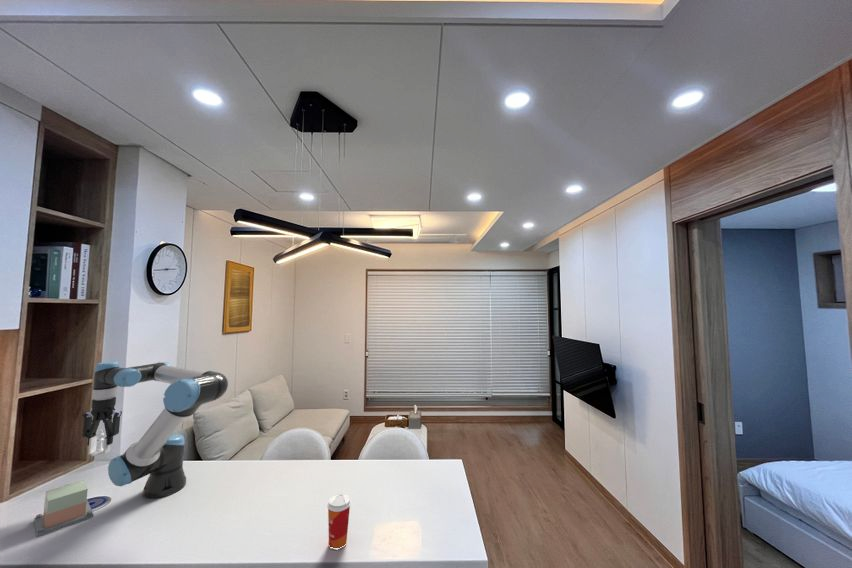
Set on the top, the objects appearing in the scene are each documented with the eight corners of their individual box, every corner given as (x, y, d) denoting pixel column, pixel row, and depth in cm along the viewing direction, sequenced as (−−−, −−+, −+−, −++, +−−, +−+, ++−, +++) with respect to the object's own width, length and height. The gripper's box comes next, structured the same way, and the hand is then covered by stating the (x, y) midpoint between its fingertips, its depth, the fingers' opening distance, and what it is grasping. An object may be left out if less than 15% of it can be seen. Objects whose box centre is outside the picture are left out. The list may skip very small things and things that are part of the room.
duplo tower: (87, 503, 132) (89, 476, 133) (93, 517, 124) (95, 488, 125) (34, 521, 121) (37, 491, 122) (36, 537, 113) (40, 505, 114)
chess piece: (96, 456, 135) (98, 432, 136) (88, 455, 136) (90, 431, 137) (110, 451, 140) (112, 428, 140) (102, 450, 141) (104, 426, 142)
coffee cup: (328, 536, 116) (330, 493, 117) (351, 535, 117) (352, 492, 118) (323, 553, 108) (324, 507, 109) (347, 552, 109) (349, 507, 110)
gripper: (133, 395, 144) (129, 448, 143) (89, 395, 142) (83, 449, 140) (120, 399, 137) (115, 455, 135) (72, 400, 135) (67, 457, 133)
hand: (99, 452), depth 138 cm, fingers closed on chess piece, 5 cm apart
